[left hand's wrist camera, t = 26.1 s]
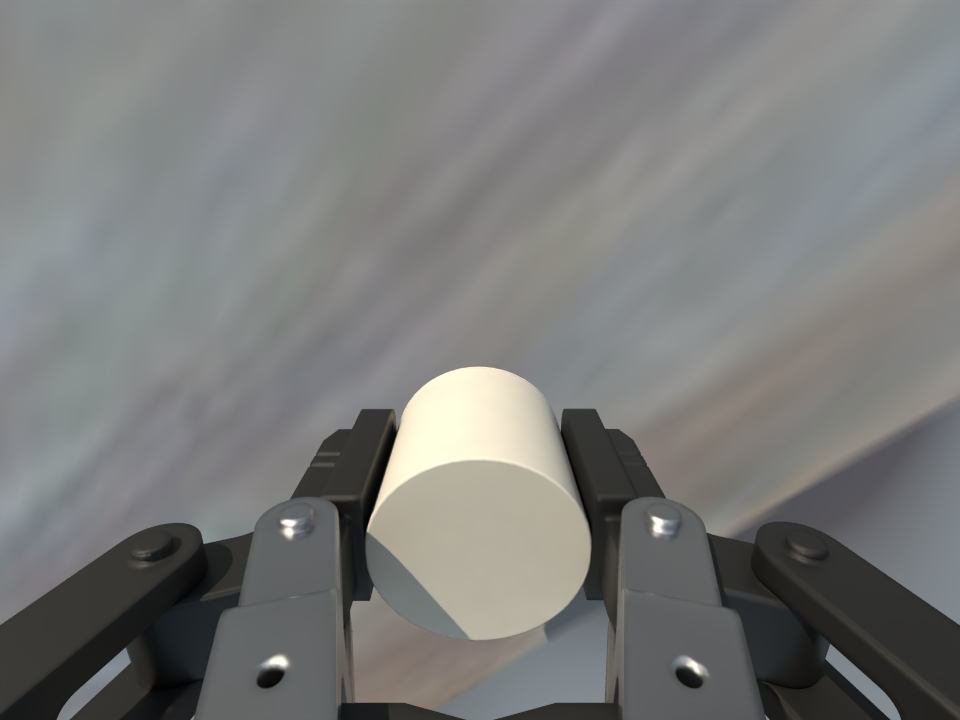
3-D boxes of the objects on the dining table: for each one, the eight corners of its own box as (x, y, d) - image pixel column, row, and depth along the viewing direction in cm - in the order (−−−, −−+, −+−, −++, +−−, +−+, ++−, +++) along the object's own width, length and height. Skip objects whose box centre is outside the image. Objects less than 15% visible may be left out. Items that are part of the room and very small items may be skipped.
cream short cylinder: (460, 531, 14) (453, 671, 10) (365, 423, 12) (315, 534, 9) (588, 457, 13) (634, 579, 9) (499, 334, 12) (509, 414, 8)
